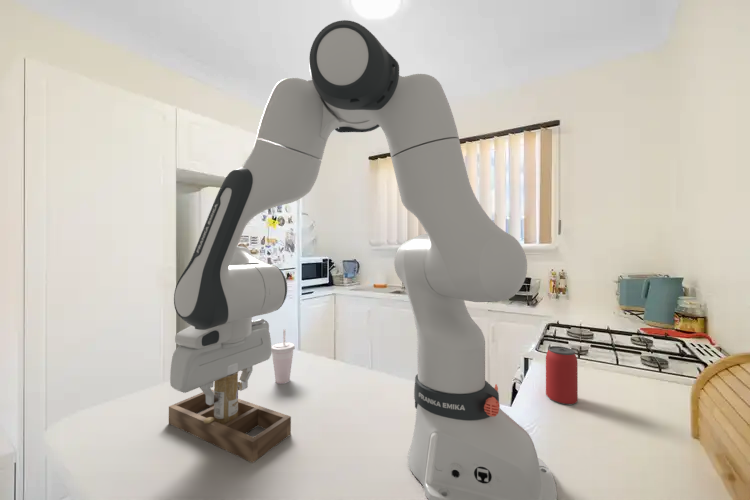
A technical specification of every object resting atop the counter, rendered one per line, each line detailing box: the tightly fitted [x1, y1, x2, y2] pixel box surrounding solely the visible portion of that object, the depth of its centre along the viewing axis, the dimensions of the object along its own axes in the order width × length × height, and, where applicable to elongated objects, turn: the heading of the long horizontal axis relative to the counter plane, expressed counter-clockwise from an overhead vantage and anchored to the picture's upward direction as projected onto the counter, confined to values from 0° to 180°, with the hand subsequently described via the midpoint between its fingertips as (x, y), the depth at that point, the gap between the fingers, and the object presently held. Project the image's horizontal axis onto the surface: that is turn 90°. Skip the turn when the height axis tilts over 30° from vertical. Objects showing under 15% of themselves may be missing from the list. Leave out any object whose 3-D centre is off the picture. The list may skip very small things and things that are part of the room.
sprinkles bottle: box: [213, 363, 239, 425], centre depth 61 cm, size 5×5×14 cm
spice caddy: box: [168, 389, 292, 464], centre depth 61 cm, size 25×9×4 cm, turn 62°
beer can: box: [545, 345, 579, 406], centre depth 73 cm, size 7×7×12 cm
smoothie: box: [271, 328, 295, 385], centre depth 84 cm, size 6×6×14 cm
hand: (227, 395), depth 61 cm, fingers open, 5 cm apart
